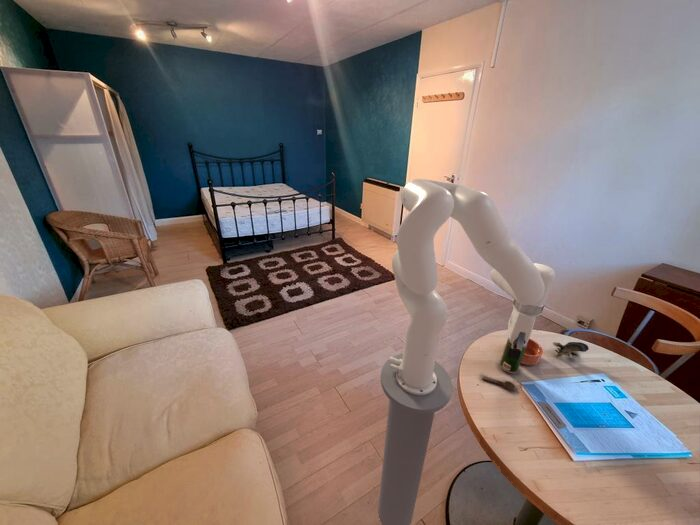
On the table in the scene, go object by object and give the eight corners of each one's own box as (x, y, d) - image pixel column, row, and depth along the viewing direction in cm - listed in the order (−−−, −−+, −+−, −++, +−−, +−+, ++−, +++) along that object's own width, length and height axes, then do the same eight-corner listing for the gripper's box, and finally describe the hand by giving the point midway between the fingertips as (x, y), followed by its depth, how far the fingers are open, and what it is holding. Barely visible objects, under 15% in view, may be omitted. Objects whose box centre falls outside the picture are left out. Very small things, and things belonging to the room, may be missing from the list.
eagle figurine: (573, 366, 92) (593, 355, 95) (565, 345, 93) (585, 335, 95) (552, 361, 100) (571, 351, 102) (545, 342, 100) (564, 332, 102)
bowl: (506, 360, 96) (509, 350, 94) (506, 342, 104) (509, 332, 102) (540, 370, 92) (544, 360, 90) (537, 350, 100) (541, 341, 98)
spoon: (482, 381, 88) (482, 379, 88) (482, 374, 90) (483, 373, 90) (514, 392, 84) (515, 390, 84) (514, 385, 87) (514, 383, 87)
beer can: (515, 376, 89) (526, 347, 84) (497, 367, 93) (506, 339, 88) (519, 367, 93) (530, 338, 88) (501, 359, 96) (511, 331, 91)
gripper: (512, 287, 91) (499, 332, 99) (514, 316, 77) (499, 365, 85) (539, 293, 88) (523, 338, 96) (547, 324, 74) (527, 374, 82)
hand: (512, 350), depth 90 cm, fingers closed on beer can, 5 cm apart
